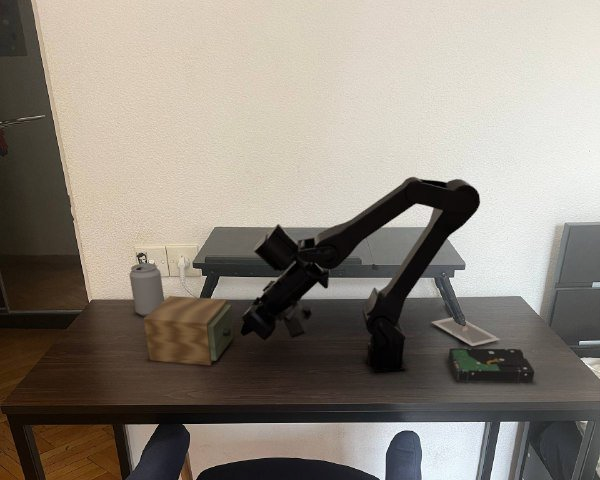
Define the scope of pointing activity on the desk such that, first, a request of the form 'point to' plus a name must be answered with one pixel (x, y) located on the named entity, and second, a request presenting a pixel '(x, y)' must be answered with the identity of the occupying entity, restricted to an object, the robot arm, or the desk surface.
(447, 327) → the touchpad
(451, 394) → the desk surface
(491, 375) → the disk drive
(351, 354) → the desk surface
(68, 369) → the desk surface
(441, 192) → the robot arm
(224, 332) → the drawer
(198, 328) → the cabinet
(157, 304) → the can
